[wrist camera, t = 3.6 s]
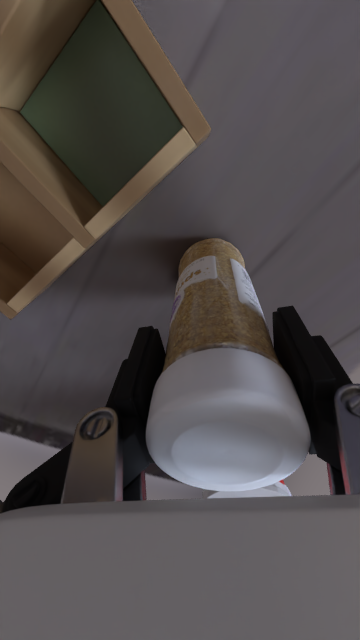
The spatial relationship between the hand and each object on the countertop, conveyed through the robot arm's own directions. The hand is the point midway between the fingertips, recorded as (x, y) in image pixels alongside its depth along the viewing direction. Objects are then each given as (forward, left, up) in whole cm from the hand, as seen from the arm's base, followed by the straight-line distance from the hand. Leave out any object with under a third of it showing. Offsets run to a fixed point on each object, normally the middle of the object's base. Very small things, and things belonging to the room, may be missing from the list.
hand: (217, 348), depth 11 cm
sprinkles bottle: (0, 0, -9) cm, 9 cm away
